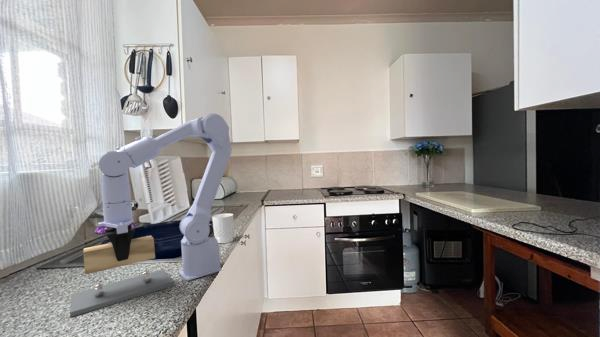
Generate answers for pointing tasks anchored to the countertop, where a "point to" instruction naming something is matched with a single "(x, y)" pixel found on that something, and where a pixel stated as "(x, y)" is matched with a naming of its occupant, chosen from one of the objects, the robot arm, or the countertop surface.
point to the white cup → (223, 227)
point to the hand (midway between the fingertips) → (121, 257)
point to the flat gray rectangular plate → (118, 291)
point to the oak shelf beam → (106, 259)
